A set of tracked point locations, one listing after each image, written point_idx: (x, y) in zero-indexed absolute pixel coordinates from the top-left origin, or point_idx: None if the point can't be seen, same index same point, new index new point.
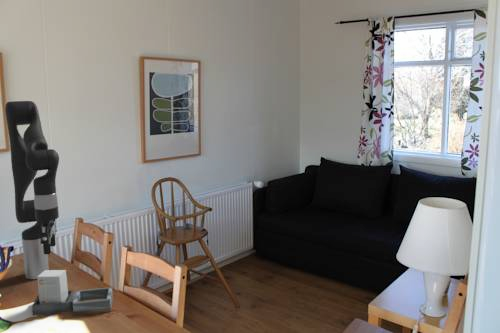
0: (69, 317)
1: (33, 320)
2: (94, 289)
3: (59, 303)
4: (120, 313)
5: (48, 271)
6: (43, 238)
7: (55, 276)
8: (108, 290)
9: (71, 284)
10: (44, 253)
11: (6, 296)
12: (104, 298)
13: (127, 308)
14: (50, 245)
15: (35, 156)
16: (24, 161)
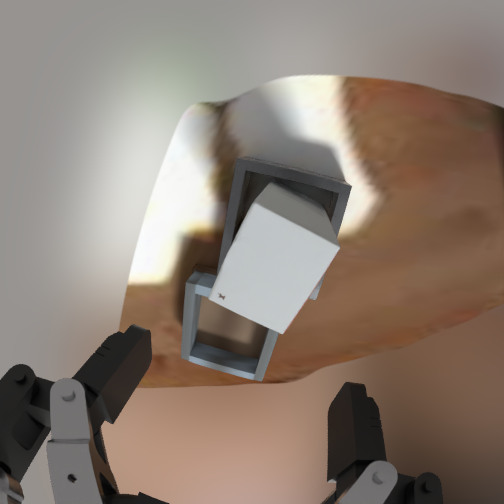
0: (190, 255)
1: (210, 160)
2: (268, 348)
3: (221, 245)
4: (174, 350)
5: (304, 262)
6: (54, 432)
7: (216, 285)
8: (242, 371)
9: (422, 285)
10: (130, 329)
11: (436, 92)
12: (248, 348)
13: (193, 366)
14: (343, 393)
15: None
16: None
